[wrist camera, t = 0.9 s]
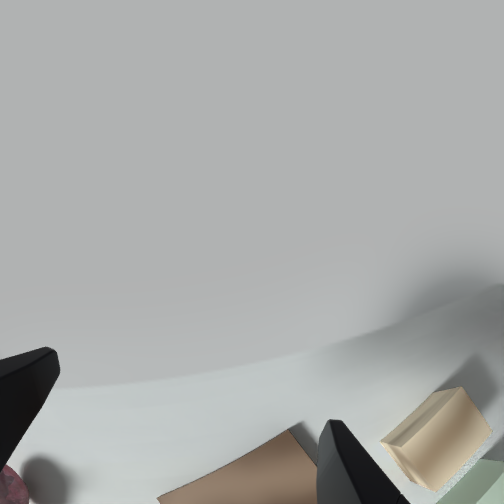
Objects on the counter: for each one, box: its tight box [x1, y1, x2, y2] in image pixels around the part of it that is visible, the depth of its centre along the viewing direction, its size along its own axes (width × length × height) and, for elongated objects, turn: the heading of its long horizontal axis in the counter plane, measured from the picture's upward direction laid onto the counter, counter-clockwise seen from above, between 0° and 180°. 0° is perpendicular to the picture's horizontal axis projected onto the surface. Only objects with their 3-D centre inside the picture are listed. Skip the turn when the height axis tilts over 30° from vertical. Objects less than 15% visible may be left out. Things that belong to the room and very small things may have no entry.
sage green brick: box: [436, 459, 504, 504], centre depth 13 cm, size 5×6×5 cm
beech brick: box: [380, 386, 492, 492], centre depth 17 cm, size 5×6×5 cm
